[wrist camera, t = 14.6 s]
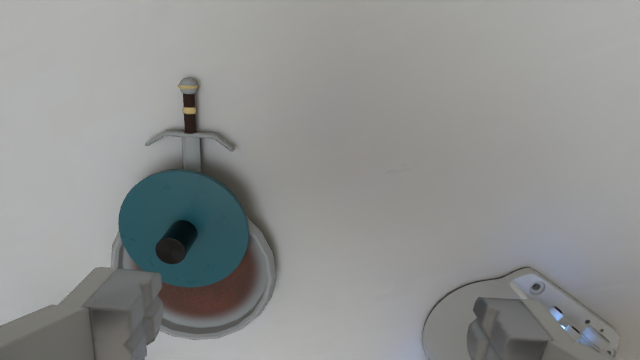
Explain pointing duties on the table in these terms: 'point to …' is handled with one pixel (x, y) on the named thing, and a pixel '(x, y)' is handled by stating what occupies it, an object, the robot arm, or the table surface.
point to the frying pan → (227, 294)
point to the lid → (184, 227)
